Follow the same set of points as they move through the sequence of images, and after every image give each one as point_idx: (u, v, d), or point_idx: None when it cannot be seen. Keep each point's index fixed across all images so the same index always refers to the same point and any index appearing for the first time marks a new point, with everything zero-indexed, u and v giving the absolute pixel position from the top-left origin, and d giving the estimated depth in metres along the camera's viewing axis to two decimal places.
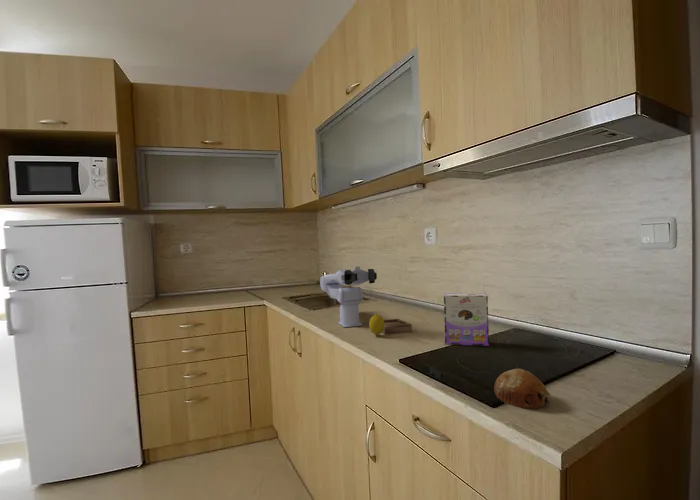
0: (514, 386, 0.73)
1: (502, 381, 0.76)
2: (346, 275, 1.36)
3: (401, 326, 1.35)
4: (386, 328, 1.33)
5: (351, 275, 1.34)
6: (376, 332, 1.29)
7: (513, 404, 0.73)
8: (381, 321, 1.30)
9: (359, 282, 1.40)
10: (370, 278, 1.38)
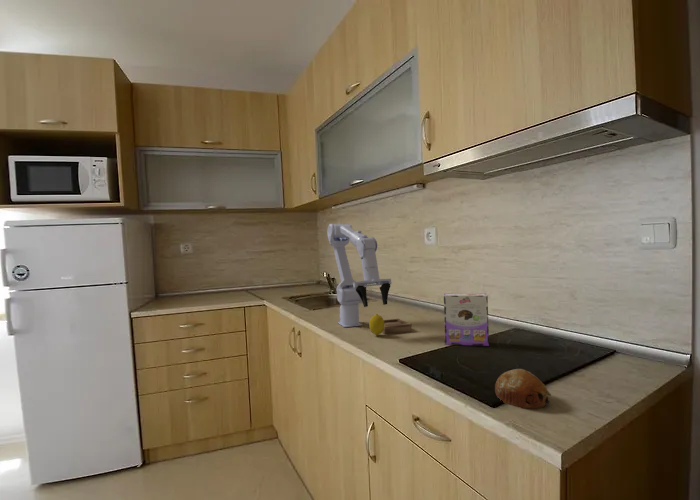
0: (515, 386, 0.73)
1: (503, 381, 0.76)
2: None
3: (401, 326, 1.35)
4: (386, 328, 1.33)
5: None
6: (376, 332, 1.29)
7: (514, 404, 0.73)
8: (381, 321, 1.30)
9: (371, 283, 1.35)
10: (381, 291, 1.34)
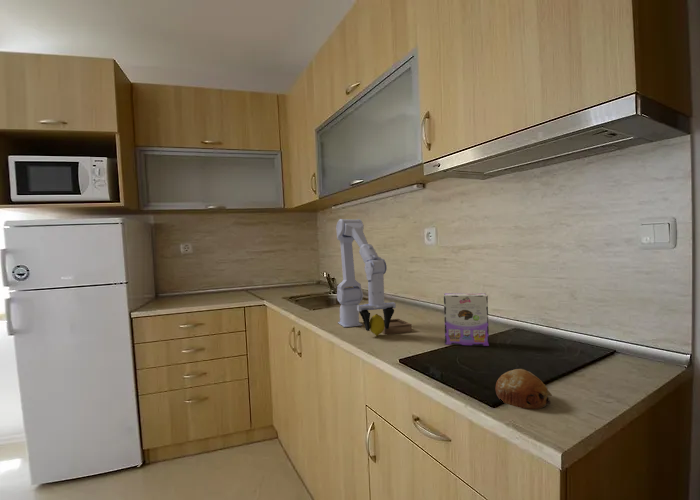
0: (516, 386, 0.73)
1: (504, 381, 0.76)
2: None
3: (401, 326, 1.35)
4: None
5: None
6: (376, 332, 1.29)
7: (514, 404, 0.73)
8: (381, 321, 1.30)
9: None
10: (384, 314, 1.33)
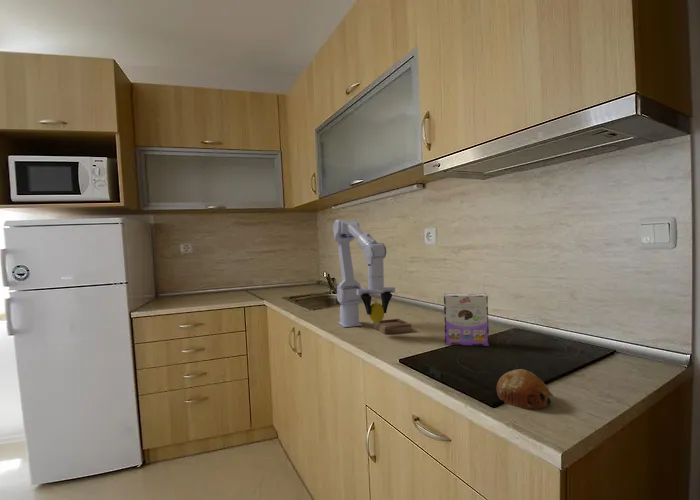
0: (517, 386, 0.73)
1: (505, 381, 0.76)
2: None
3: (401, 326, 1.35)
4: (386, 328, 1.33)
5: None
6: (376, 320, 1.30)
7: (515, 405, 0.73)
8: (380, 308, 1.30)
9: None
10: (382, 298, 1.33)
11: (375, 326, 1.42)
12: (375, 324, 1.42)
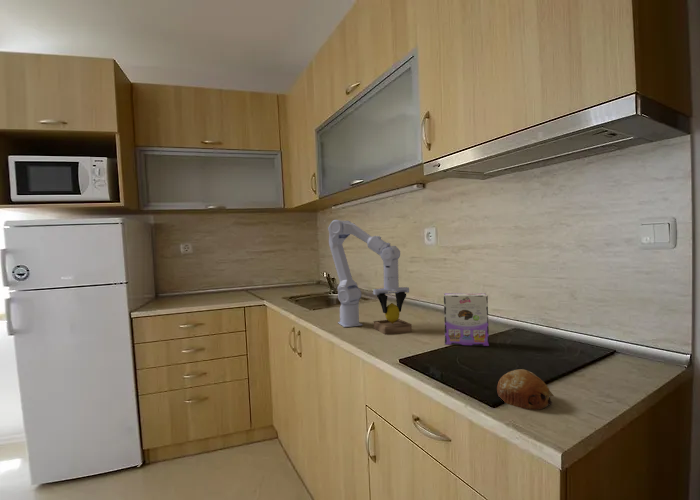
0: (517, 386, 0.73)
1: (505, 381, 0.75)
2: None
3: (401, 326, 1.35)
4: (386, 328, 1.33)
5: (383, 304, 1.38)
6: (391, 320, 1.38)
7: (516, 405, 0.73)
8: (396, 309, 1.38)
9: None
10: (397, 298, 1.42)
11: (375, 326, 1.42)
12: (375, 324, 1.42)
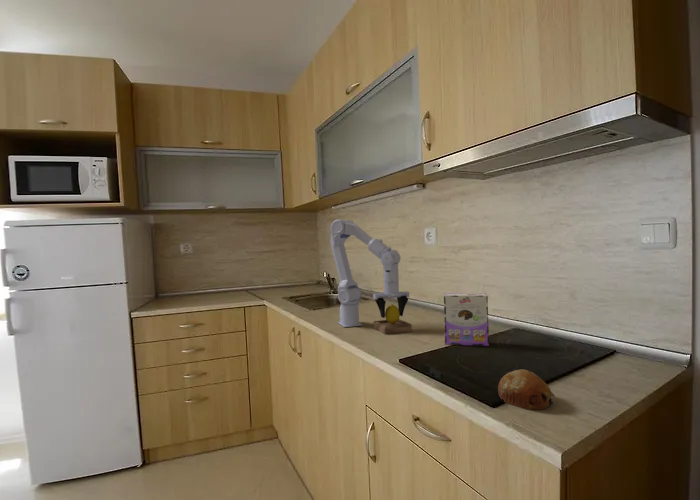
0: (518, 386, 0.73)
1: (506, 382, 0.75)
2: None
3: (401, 326, 1.35)
4: (386, 328, 1.33)
5: (382, 308, 1.38)
6: (391, 321, 1.38)
7: (517, 405, 0.73)
8: (396, 311, 1.38)
9: None
10: (399, 302, 1.42)
11: (375, 326, 1.42)
12: (375, 324, 1.42)
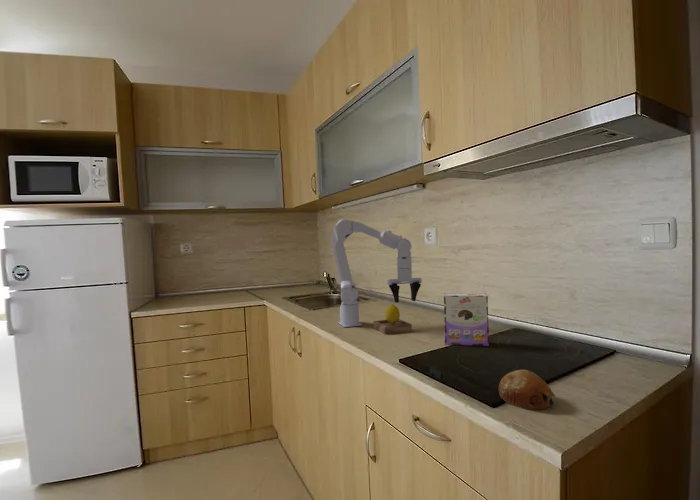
0: (519, 387, 0.73)
1: (507, 382, 0.75)
2: None
3: (401, 326, 1.35)
4: (386, 328, 1.33)
5: (396, 294, 1.44)
6: (391, 321, 1.38)
7: (518, 405, 0.72)
8: (396, 311, 1.38)
9: None
10: (411, 288, 1.48)
11: (375, 326, 1.42)
12: (375, 324, 1.42)
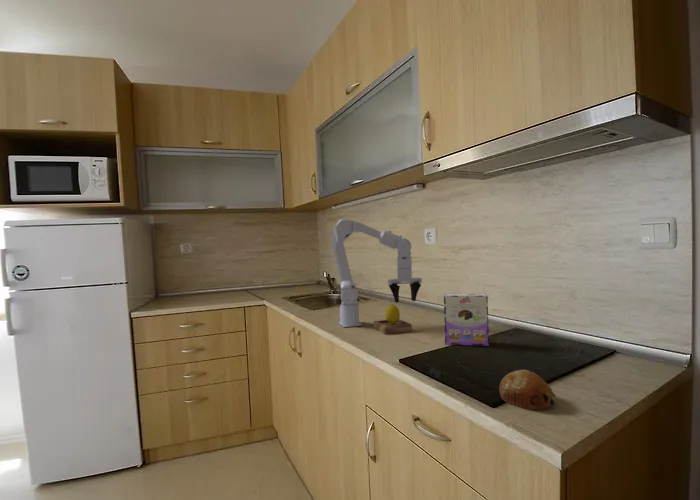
0: (520, 387, 0.73)
1: (507, 382, 0.75)
2: None
3: (401, 326, 1.35)
4: (386, 328, 1.33)
5: (396, 294, 1.44)
6: (391, 321, 1.38)
7: (518, 405, 0.72)
8: (396, 311, 1.38)
9: None
10: (411, 288, 1.48)
11: (375, 326, 1.42)
12: (375, 324, 1.42)
